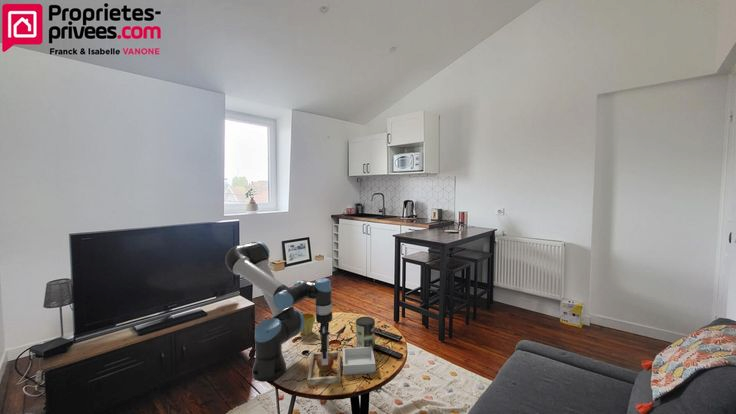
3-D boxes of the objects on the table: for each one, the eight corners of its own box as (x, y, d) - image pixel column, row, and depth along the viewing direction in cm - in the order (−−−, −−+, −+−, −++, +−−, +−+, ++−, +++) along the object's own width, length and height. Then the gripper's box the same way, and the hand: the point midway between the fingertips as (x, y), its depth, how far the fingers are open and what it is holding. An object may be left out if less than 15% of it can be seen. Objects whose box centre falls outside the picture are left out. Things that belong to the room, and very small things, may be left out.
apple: (313, 372, 139) (312, 355, 138) (322, 362, 146) (322, 347, 146) (327, 376, 136) (327, 359, 135) (336, 366, 143) (336, 350, 142)
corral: (307, 385, 130) (307, 379, 130) (311, 357, 151) (311, 352, 151) (340, 382, 131) (340, 377, 131) (340, 355, 152) (340, 350, 152)
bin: (343, 375, 136) (343, 365, 136) (342, 356, 151) (342, 348, 151) (375, 372, 138) (375, 363, 137) (372, 354, 153) (371, 346, 152)
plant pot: (306, 326, 185) (306, 311, 184) (318, 331, 179) (318, 315, 178) (293, 333, 176) (293, 317, 176) (305, 338, 170) (305, 321, 170)
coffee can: (376, 341, 166) (376, 317, 165) (373, 351, 156) (372, 325, 155) (358, 339, 168) (358, 315, 167) (354, 349, 158) (353, 323, 157)
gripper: (331, 323, 127) (333, 371, 128) (332, 301, 152) (334, 342, 153) (313, 324, 126) (315, 372, 128) (317, 302, 151) (319, 343, 152)
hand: (325, 356), depth 140 cm, fingers open, 13 cm apart
